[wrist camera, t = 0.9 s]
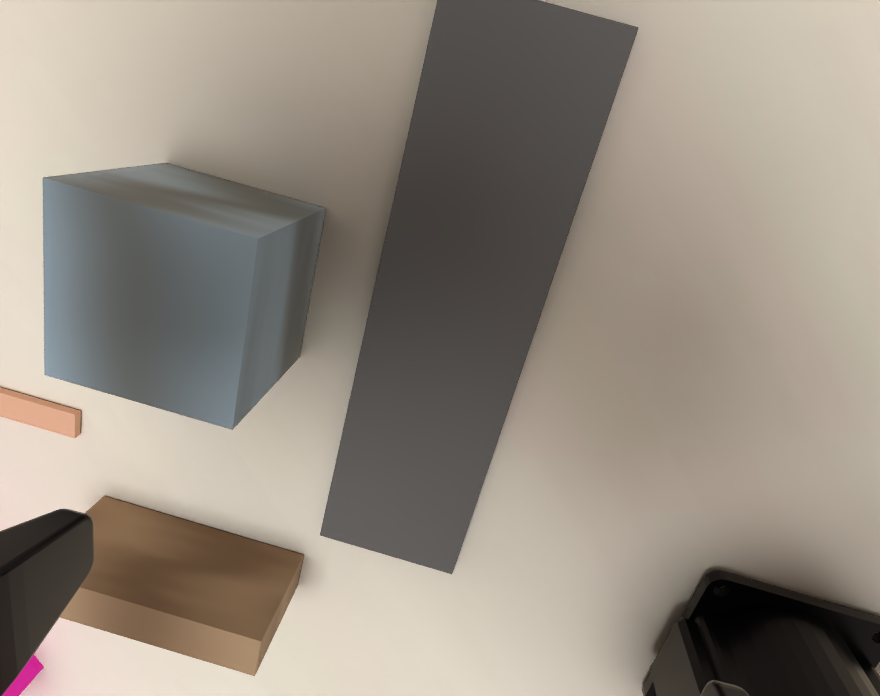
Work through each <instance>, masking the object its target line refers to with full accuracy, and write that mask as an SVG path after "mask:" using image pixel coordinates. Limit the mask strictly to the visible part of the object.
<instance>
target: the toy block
mask: <svg viewBox="0 0 880 696" xmlns="http://www.w3.org/2000/svg"><path fill="white" fill-rule="evenodd" d="M42 668H43V665H42V664H41V663H40V662H39V661H38V659H37V658H36V657H35V656H34V655H33V656H32V657H31V659H30V660H29V661H28V663H27V664H26V666H25V667H24V668H23V670H22V671H21V672H20V674H19V675H18V676H17V678H16V679H15V680H14V681H13V683H12V684H11V685H10V686H9V688H8V689H7V690H6V691H5V693H4V694H3V695H2V696H19V695H20V694H21V693H22V691H23V690H24V689H25V688H26V687H27V686H28V685H29V683H30V682H31V681H32V680H33V679H34V678H35V676H36V675H37V674H38V673H39V672H40V671H41V670H42Z"/></svg>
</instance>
